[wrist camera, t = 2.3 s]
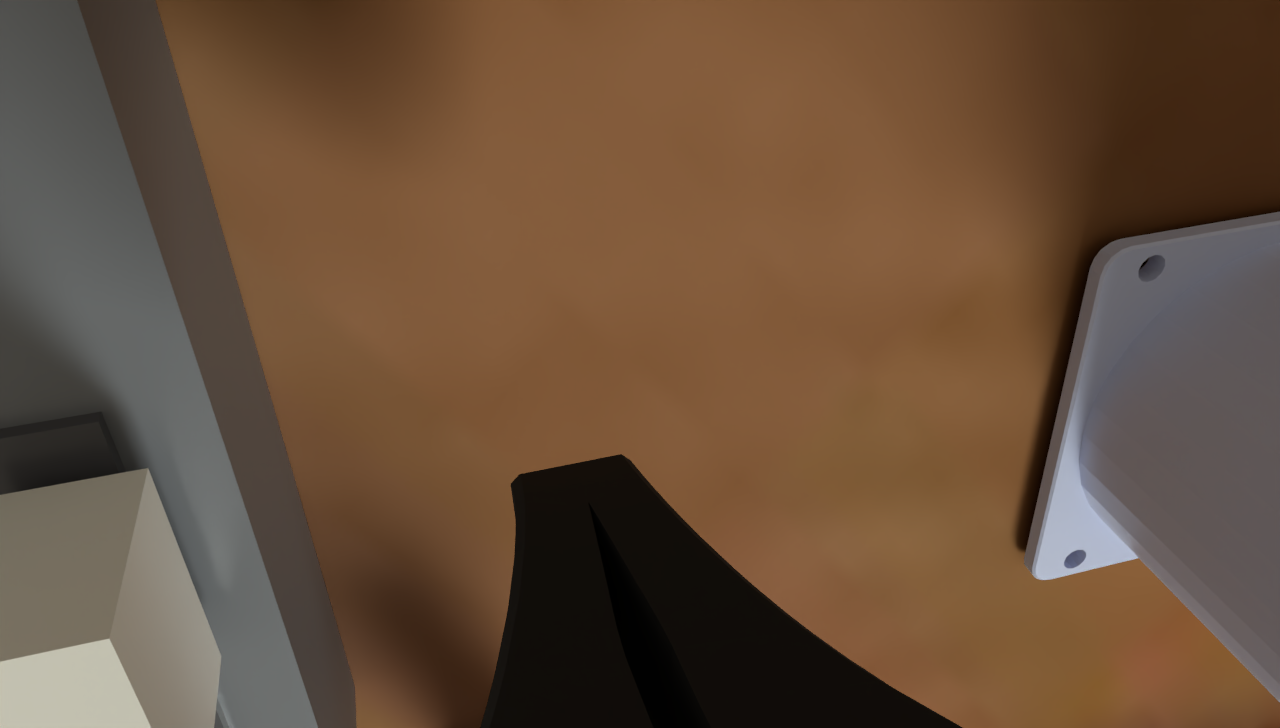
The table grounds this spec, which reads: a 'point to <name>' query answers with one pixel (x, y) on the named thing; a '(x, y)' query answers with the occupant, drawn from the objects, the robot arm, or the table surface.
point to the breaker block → (150, 344)
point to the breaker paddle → (100, 612)
